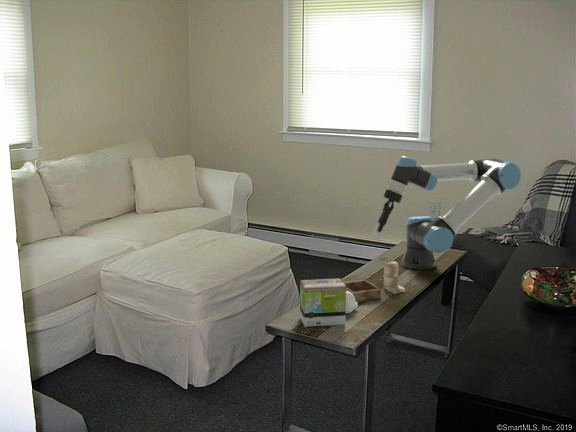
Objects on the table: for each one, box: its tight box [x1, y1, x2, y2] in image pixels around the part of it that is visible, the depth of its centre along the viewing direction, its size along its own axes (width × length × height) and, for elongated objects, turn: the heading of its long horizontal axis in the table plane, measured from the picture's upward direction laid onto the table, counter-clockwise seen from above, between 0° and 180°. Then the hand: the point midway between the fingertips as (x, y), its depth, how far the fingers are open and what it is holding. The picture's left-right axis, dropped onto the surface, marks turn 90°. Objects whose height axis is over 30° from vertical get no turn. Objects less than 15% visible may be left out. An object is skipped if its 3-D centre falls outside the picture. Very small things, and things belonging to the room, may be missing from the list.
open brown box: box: [343, 279, 381, 303], centre depth 264 cm, size 12×13×4 cm
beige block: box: [383, 260, 406, 295], centre depth 270 cm, size 5×8×11 cm, turn 26°
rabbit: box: [346, 291, 359, 314], centre depth 247 cm, size 12×9×12 cm
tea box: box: [299, 278, 347, 328], centre depth 236 cm, size 15×10×15 cm
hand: (375, 237), depth 282 cm, fingers open, 13 cm apart
